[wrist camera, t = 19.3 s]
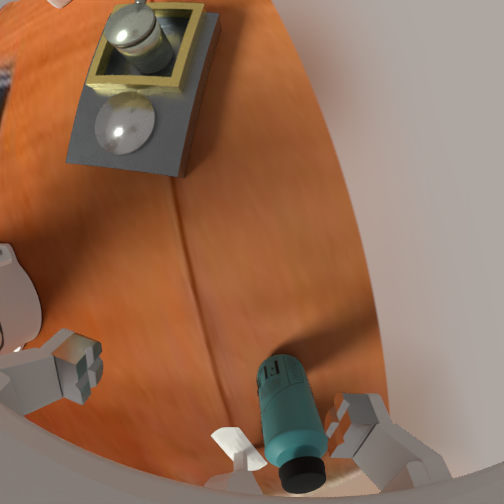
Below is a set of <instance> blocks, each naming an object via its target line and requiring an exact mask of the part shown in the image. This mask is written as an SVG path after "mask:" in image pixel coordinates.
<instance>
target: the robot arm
mask: <svg viewBox="0 0 504 504" xmlns="http://www.w3.org/2000/svg"><path fill="white" fill-rule="evenodd" d="M41 320H42V315H41V307H40V302H39V299H38V295H37V293H36V290H35V288H34V286H33V283H32V282H31V280H30V278H29V276H28V275H27V274H26V272H25V271H24V270H23V268H22V267H21V266H20V264H19V263H18V261H17V259H16V256H15V253H14V251H13V249H12V247H11V245H10V244H8V243H1V244H0V504H504V462H501V463H499V464H496V465H493V466H491V467H488V468H485V469H483V470H480V471H477V472H474V473H471V474H467V475H464V476H461V477H458V478H454V479H453V478H452V476H451V474H450V472H449V470H448V468H447V466H446V464H445V462H444V460H443V457H442V456H441V455H440V454H438V453H437V452H435V451H434V450H432V449H431V448H430V447H428V446H427V445H425V444H424V443H423V442H421V441H420V440H418V439H417V438H416V437H414V436H413V435H411V434H410V433H409V432H407V431H406V430H404V429H403V428H402V427H400V426H399V425H398V424H393V423H392V420H391V418H390V416H389V414H388V412H387V409H386V407H385V405H384V403H383V401H382V398H381V396H380V395H379V394H369V393H365V394H360V393H344V392H339V393H338V394H337V395H336V396H335V398H334V400H333V401H334V405H335V406H333V407H332V408H330V409H329V410H328V412H327V415H326V417H325V422H324V430H325V434H326V435H327V436H328V437H329V438H330V439H329V441H328V443H327V446H328V451H329V456H330V458H353V461H354V462H355V463H356V464H357V465H358V466H359V467H360V468H361V470H362V471H363V472H364V473H365V474H366V475H367V476H368V477H369V478H370V480H371V481H372V482H373V483H374V484H375V485H376V486H377V487H378V488H379V489H380V490H381V492H380V493H379V494H370V495H360V496H346V497H322V498H320V497H316V498H309V497H279V496H265V495H254V494H245V493H238V492H230V491H224V490H218V489H212V488H207V487H202V486H197V485H192V484H188V483H184V482H179V481H175V480H171V479H168V478H164V477H160V476H157V475H153V474H150V473H147V472H144V471H140V470H137V469H134V468H131V467H128V466H126V465H123V464H120V463H117V462H115V461H112V460H109V459H107V458H104V457H102V456H99V455H97V454H94V453H92V452H90V451H87V450H85V449H83V448H81V447H78V446H76V445H74V444H72V443H70V442H68V441H66V440H64V439H62V438H60V437H58V436H56V435H54V434H52V433H50V432H48V431H46V430H45V429H43V428H41V427H39V426H37V425H36V424H34V423H32V422H31V421H29V420H27V419H26V418H25V417H24V415H26V414H28V413H30V412H33V411H35V410H37V409H39V408H41V407H44V406H46V405H48V404H50V403H52V402H55V401H57V400H59V399H61V398H62V397H65V398H67V399H69V400H72V401H74V402H76V403H79V404H81V405H83V404H84V403H85V401H86V400H87V399H88V397H89V396H90V394H91V389H90V388H92V387H95V386H97V384H98V383H99V381H100V379H101V376H102V374H103V361H102V360H101V358H100V357H99V355H100V354H101V352H102V347H101V343H100V342H99V341H97V340H94V339H92V338H89V337H86V336H84V335H81V334H79V333H76V332H73V331H71V330H69V329H66V328H63V329H61V330H60V331H59V332H57V333H56V334H55V335H54V336H53V337H52V338H51V339H49V340H48V341H47V342H46V343H45V344H44V345H43V346H42V347H40V348H39V349H38V348H31V349H27V350H22V349H23V347H24V345H25V343H27V342H29V341H31V340H33V339H34V338H35V337H36V336H37V335H38V333H39V331H40V328H41ZM21 350H22V351H21ZM13 351H14V352H13ZM11 352H13V353H11Z"/></svg>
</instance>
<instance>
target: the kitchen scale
mask: <svg viewBox="0 0 504 504" xmlns="http://www.w3.org/2000/svg"><path fill="white" fill-rule="evenodd" d="M127 5H130V4H121V5H115V7H114V9H113V11H112V13H111V14H110V16H109V18H110V17H111V16H112V15H113V14H114V13H115V12H116V11H117V10H119V9H120V8H122V7H124V6H127ZM146 5H148V6H149V7H150V8H151V9H152V10H153V12H154V14H155V16H156V19H157V20H158V22H159V24H160V26H161V27H162V29H163V31H164V33H165V35H166V37H167V38H168V40H169V42H170V44H171V46H172V48H173V56H172V59H171V61H170V62H169V64H168V65H167V66H166V67H165V68H163V69H162V70H160V71H158V72H155V73H150V74H147V73H142V72H140V71H138V70H137V69H136V68H135V67H134V66H133V65H132V64H131V63H130V62H129V61H128V60H127V59H126V58H125V57H124V56H123V55H122V54H121V53H120V52H119V51H118V50H117V49H116V48H115V47H114V46H113V45H111V44H110V43H109V42H108V41H107V39H106V38H105V35H104V30H103V32H102V35H101V37H100V40H99V42H98V45H97V48H96V50H95V53H94V56H93V59H92V62H91V64H90V67H89V70H88V74H87V77H86V80H85V83H84V86H83V90H82V93H81V97H80V100H79V104H78V108H77V112H76V116H75V120H74V124H73V129H72V133H71V138H70V143H69V148H68V153H67V159H66V163H71V164H80V165H90V166H99V167H108V168H116V169H124V170H132V171H139V172H146V173H153V174H160V175H167V176H174V177H180V178H185V174H186V169H187V164H188V159H189V154H190V149H191V144H192V140H193V135H194V131H195V126H196V122H197V117H198V113H199V109H200V105H201V101H202V96H203V92H204V89H205V85H206V81H207V77H208V73H209V70H210V66H211V62H212V59H213V55H214V52H215V48H216V45H217V41H218V38H219V35H220V31H221V24H220V15H219V13H209V12H206V8H205V4H204V3H181V2H156V3H146ZM109 18H108V19H109ZM107 21H108V20H107ZM104 29H105V27H104Z"/></svg>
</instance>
